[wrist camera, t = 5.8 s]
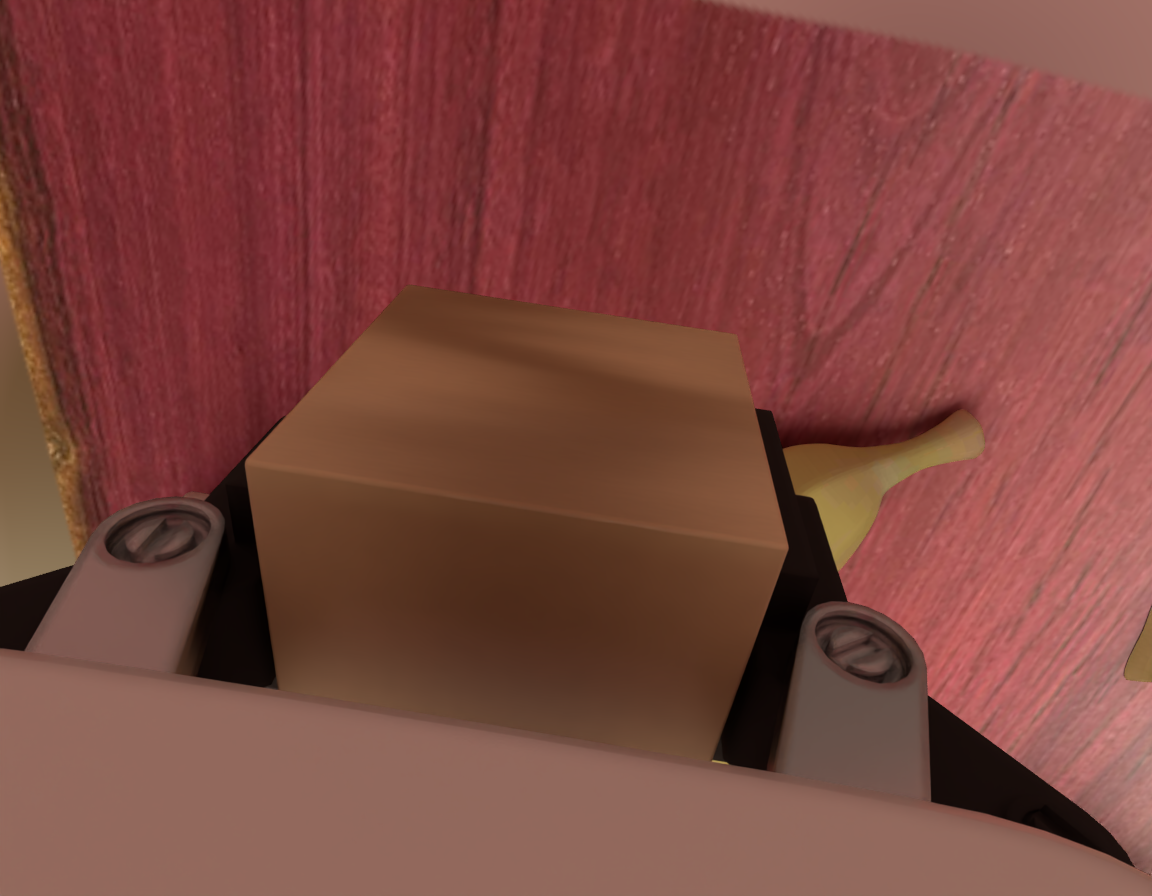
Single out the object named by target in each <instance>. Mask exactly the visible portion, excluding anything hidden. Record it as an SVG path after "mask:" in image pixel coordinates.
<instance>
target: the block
mask: <svg viewBox="0 0 1152 896" xmlns="http://www.w3.org/2000/svg"><path fill="white" fill-rule="evenodd" d="M245 470H246V477H247V483H248V490H249V497H250V504H251V510H252V517H253V524H254V531H255V537H256V544H257V551H258V557H259V564H260V571H261V578H262V584H263V591H264V598H265V605H266V611H267V618H268V625H269V631H270V638H271V645H272V652H273V658H274V665H275V672H276V679H277V685H278V690H281V691H287V692H293V693H300V694H306V695H312V696H319V697H325V698H331V699H337V700H344V701H350V702H356V703H362V704H368V705H374V706H380V707H386V708H393V709H399V710H405V711H411V712H417V713H423V714H429V715H436V716H442V717H448V718H454V719H460V720H466V721H472V722H478V723H484V724H490V725H496V726H502V727H508V728H514V729H521V730H527V731H533V732H539V733H545V734H551V735H557V736H563V737H569V738H575V739H581V740H587V741H593V742H599V743H605V744H610V745H616V746H622V747H628V748H634V749H640V750H646V751H652V752H657V753H663V754H669V755H675V756H681V757H687V758H693V759H699V760H705V761H710V762H712V759H713V757H714V754H715V751H716V748H717V746H718V743H719V740H720V737H721V734H722V732H723V729H724V726H725V723H726V721H727V718H728V715H729V712H730V710H731V707H732V704H733V701H734V698H735V696H736V693H737V690H738V687H739V685H740V682H741V679H742V676H743V674H744V671H745V668H746V665H747V663H748V660H749V657H750V654H751V651H752V649H753V646H754V643H755V640H756V638H757V635H758V632H759V629H760V627H761V624H762V621H763V618H764V615H765V613H766V610H767V607H768V604H769V602H770V599H771V596H772V593H773V591H774V588H775V585H776V582H777V579H778V577H779V574H780V571H781V568H782V566H783V563H784V560H785V557H786V555H787V552H788V549H789V547H788V542H787V538H786V534H785V530H784V526H783V521H782V517H781V513H780V509H779V505H778V501H777V497H776V493H775V489H774V485H773V481H772V476H771V472H770V468H769V464H768V460H767V456H766V452H765V448H764V444H763V440H762V436H761V432H760V427H759V423H758V419H757V415H756V411H755V407H754V403H753V399H752V395H751V391H750V387H749V382H748V378H747V374H746V370H745V366H744V362H743V358H742V354H741V350H740V346H739V342H738V338H737V335H735V334H731V333H724V332H718V331H711V330H704V329H698V328H691V327H685V326H678V325H672V324H665V323H658V322H652V321H645V320H639V319H632V318H626V317H619V316H612V315H606V314H599V313H593V312H586V311H579V310H573V309H566V308H560V307H553V306H547V305H540V304H533V303H527V302H520V301H514V300H507V299H501V298H494V297H487V296H481V295H474V294H468V293H461V292H454V291H448V290H441V289H435V288H428V287H422V286H415V285H407V286H406V287H405V288H404V289H403V290H402V291H401V292H400V293H399V294H398V295H397V296H396V297H395V299H394V300H393V301H392V302H391V303H390V304H389V305H388V306H387V307H386V308H385V309H384V310H383V312H382V313H381V314H380V315H379V316H378V317H377V318H376V319H375V320H374V321H373V322H372V323H371V325H370V326H369V327H368V328H367V329H366V330H365V331H364V332H363V333H362V334H361V335H360V337H359V338H358V339H357V340H356V341H355V342H354V343H353V344H352V345H351V346H350V347H349V348H348V350H347V351H346V352H345V353H344V354H343V355H342V356H341V357H340V358H339V359H338V360H337V361H336V363H335V364H334V365H333V366H332V367H331V368H330V369H329V370H328V371H327V372H326V373H325V374H324V376H323V377H322V378H321V379H320V380H319V381H318V382H317V383H316V384H315V385H314V386H313V388H312V389H311V390H310V391H309V392H308V393H307V394H306V395H305V396H304V397H303V398H302V399H301V401H300V402H299V403H298V404H297V405H296V406H295V407H294V408H293V409H292V410H291V411H290V412H289V414H288V415H287V416H286V417H285V418H284V419H283V420H282V421H281V422H280V423H279V424H278V425H277V427H276V428H275V429H274V430H273V431H272V432H271V433H270V434H269V435H268V436H267V437H266V439H265V440H264V441H263V442H262V443H261V444H260V445H259V446H258V447H257V448H256V449H255V450H254V452H253V453H252V454H251V455H250V456H249V457H248V458H247V459H246V462H245Z"/></svg>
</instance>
